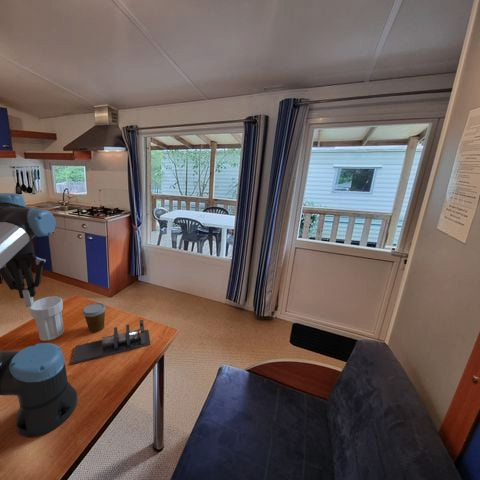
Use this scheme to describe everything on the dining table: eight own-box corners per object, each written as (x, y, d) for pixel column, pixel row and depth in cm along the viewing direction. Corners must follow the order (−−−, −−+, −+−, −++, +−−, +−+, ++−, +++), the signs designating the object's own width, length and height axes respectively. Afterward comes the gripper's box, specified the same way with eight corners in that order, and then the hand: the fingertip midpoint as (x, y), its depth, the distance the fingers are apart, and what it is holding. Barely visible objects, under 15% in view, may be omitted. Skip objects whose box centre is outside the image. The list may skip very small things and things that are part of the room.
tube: (102, 349, 97) (101, 341, 96) (103, 342, 101) (102, 335, 100) (142, 340, 105) (141, 332, 103) (141, 334, 108) (141, 326, 107)
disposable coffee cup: (81, 330, 109) (77, 309, 106) (100, 320, 117) (97, 300, 114) (93, 337, 105) (90, 316, 102) (112, 326, 114) (110, 306, 110)
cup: (29, 342, 99) (21, 309, 94) (50, 326, 110) (44, 295, 105) (54, 344, 100) (48, 311, 95) (73, 327, 110) (68, 297, 105)
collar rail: (150, 344, 104) (149, 329, 102) (71, 364, 90) (68, 348, 88) (148, 331, 113) (147, 317, 110) (75, 347, 99) (73, 332, 97)
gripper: (45, 237, 78) (55, 296, 85) (-6, 239, 72) (9, 302, 79) (38, 243, 72) (50, 307, 79) (-18, 246, 66) (-1, 314, 73)
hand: (30, 304), depth 79 cm, fingers closed
